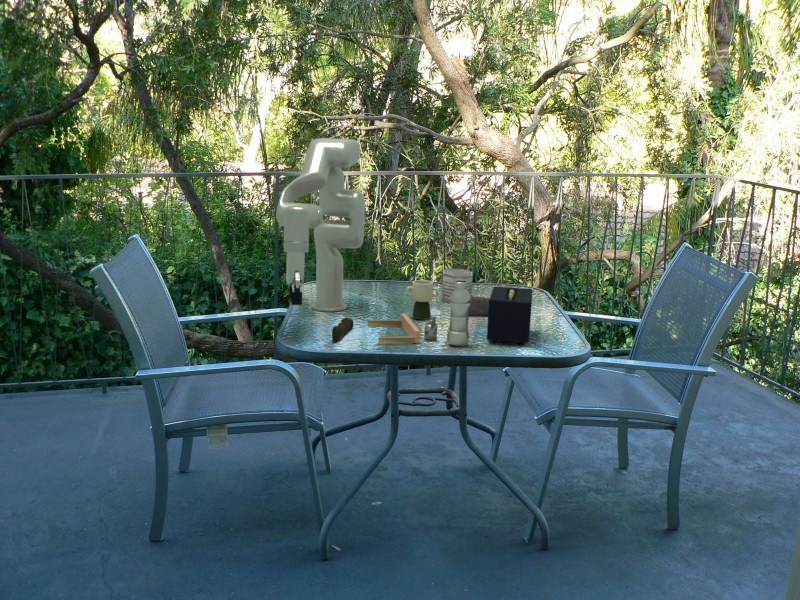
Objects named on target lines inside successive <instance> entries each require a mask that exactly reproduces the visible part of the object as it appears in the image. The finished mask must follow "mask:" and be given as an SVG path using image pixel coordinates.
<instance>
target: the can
mask: <svg viewBox="0 0 800 600" xmlns="http://www.w3.org/2000/svg"><path fill="white" fill-rule="evenodd" d="M473 276H474V273H473V271H470V270H466V269H464V268H446V269H443V270H442V287H441V288H442V291H441V293H442V294H441V302H442V304H444V303H447V304H446V305H448V304H450V296H451V294H452V292H453V291H454V290H455V287H454V285H455V281H456V280H464V281H467V288H466V289H467V291H468V292H469V294H470V296H473V294H472V293H473V292H472V290H473Z"/></svg>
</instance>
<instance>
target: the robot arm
mask: <svg viewBox="0 0 800 600" xmlns="http://www.w3.org/2000/svg"><path fill="white" fill-rule="evenodd" d="M360 157H361V146H360V144H359V142H358V141H357V140H356V139H353V138H352V139H349V138H334V137H332V138H331V137H330V138H329V137H327V138H326V137H319V138H315V139H312V140H311V141H310V144H309V145H308V147H307V150H306V155H305V158H304V161H303V166H302V169H301V173H300V175H299V176H297V178H295V179H293V180H292V181H290V182H289V184H287V185H286V187H284V189H283V190H282V191H281V194H280V197H279V200H278V202H277V207H276V214H275V216H276V217H275V218H276V221H277V223H278V224H279V225H280V226H282V227H283V252H285V253H286V262H285V263H286V264H285V265H286V269H285V270H286V271H285V272H286V273H285V274H286V275H285V281H286V284H287V285H288V286H289V289H288V290H289V295H288V298H289V299H290V300H291V301H290V302H291V303H290V304H291V306H302V305H303V291H302V290H303V289H302V286H303V284H304V283H305V282H304V281H305V280H304V279H305V259H306V258H305V256H306V254H305V253H309V249H310V248H309V247H310V243H309V242H310V239H309V237H310V236H309V235H310V229H313V236H314V243H315V253H316V254H315V255H316V257H315V258H316V261H315V262H316V263H315V264H316V267H315V268H316V269H315V274H316V275H315V278H316V280H315V282H316V283H315V302H313V303H312V304H311V309H312V310H315V311H320V312H341V311H344V310H346V309H347V308H348V305H347V304H346V303H345V302H343V296H344V295H343V293H344V292H343V290H344V289H343V287H344V286H343V285H344V258H343V256H342V254H341V252H340V251H339V250H338V249H360V247H362V246H363V243H364V239H365V237H364V236H365V216H366V215H365V212H366V211H365V209H366V208H365V207H366V205H365V204H366V203H365V197H364V195H363V193H362V191H359V190H357V189H347V188H346V189H345V174H344V171H343V170H342V168H351V167H352V166H355V165H356V164H357V163H358V162H359V160H360ZM318 191H319V192H318ZM315 192H318V193H319V195H318V197H319V198H318V204H314V203H302V202H294V201H296V200H297V199H299V198H300V197H303V196H306V195H308V194H311V193H315ZM324 216H329V217H340V218H341V217H342V218H349V220H340V219H337V220H336V219H324Z"/></svg>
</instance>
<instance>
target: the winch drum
mask: <svg viewBox="0 0 800 600" xmlns="http://www.w3.org/2000/svg"><path fill="white" fill-rule="evenodd" d="M436 319H437V316H432V319H431V320H428V322H425V323H424V332H423V333H424V334H423V335H424V337H423V340H424V341H426V342H436V341H438V328H439V327H438V326H439V324H438V323H436V322H437V321H436Z"/></svg>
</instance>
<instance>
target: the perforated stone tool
mask: <svg viewBox="0 0 800 600" xmlns="http://www.w3.org/2000/svg"><path fill="white" fill-rule="evenodd" d="M489 299H490V297H485V296H473V295H472V296H471V304H470V309H469V316H473V317H474V316H475V317H476V316H478V317H479V316H480V317H486V316H487V317H488V309H489Z"/></svg>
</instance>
